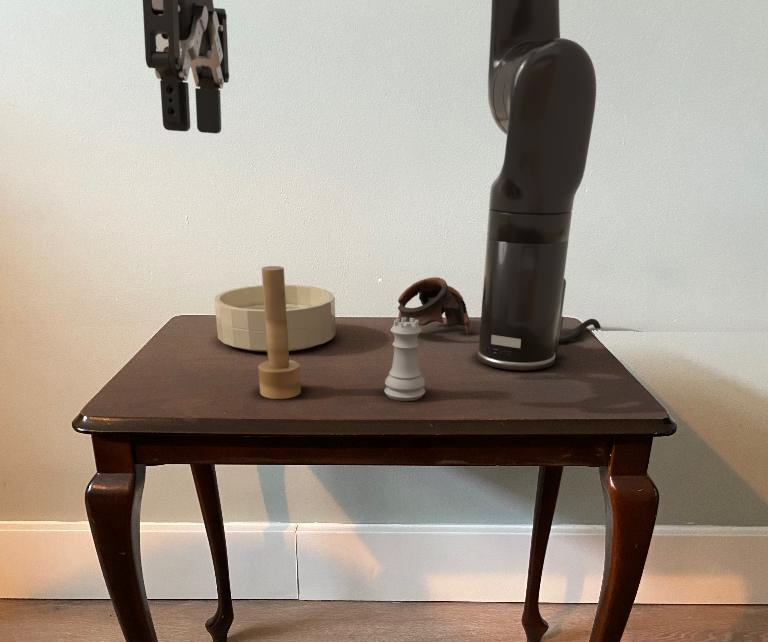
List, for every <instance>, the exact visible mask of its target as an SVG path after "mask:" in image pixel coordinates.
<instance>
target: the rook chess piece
mask: <svg viewBox="0 0 768 642" xmlns="http://www.w3.org/2000/svg"><path fill="white" fill-rule="evenodd" d="M390 332H391V333H392V335H393V336H394V339H393V340H394V341H393V343H391V345H392V346H393V357H392V365H391V368H390V370H389V371H388V375H387V376H386V378H385V380H384V384H385V388H384V390H383V391H384V393H385V395H386V396H387V397H388V398H389V399H391V400H394V401H397V402H412V401H416V400H419V399H421V398H422V397H423V396H424V395H425V393H426V389H425V388H424V386H425V384H426V381H425V380H426V379H425V378H424V377H423V376H422V372H421V370H420V367H419V360H418V347H419V346H420V344H419V342H418V337H419V336H420V334H421V333H422V332H423V329H422V328H421V327H420V326H419V321H418V320H415V318H410V322H406V318H401V322H400V319H398V317H396V318H395V319H393V325H392V327H391V328H390Z"/></svg>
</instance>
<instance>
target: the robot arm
mask: <svg viewBox="0 0 768 642" xmlns="http://www.w3.org/2000/svg"><path fill="white" fill-rule="evenodd" d="M490 5H491V9H490V35H489V53H488V54H489V55H488V57H489V58H488V73H487V100H488V101H487V102H488V106H489V110H490V114H491V117H492V119H493V121H494V123H495V125H496V126H497V127H498V128H499V130H500V131H501V132H502V133H503V134H505V135H506V141H505V142H506V143H505V148H504V149H505V151H504V157H503V158H504V159H503V163H502V167H501V169H500V171H499V174H498V175H497V177H495V179H494V180H493V181H492V183H491V186H490V189H489V190H490V191H489V201H488V214H487V215H488V216H487V228H486V229H487V230H486V241H485V242H486V244H485V257H484V273H483V283H482V300H481V312H480V313H481V315H480V325H479V326H480V327H479V328H480V329H479V342H478V348H477V355H476V356H477V357H476V358H477V359H478V361H479V362H480V363H482V364H484V365H487V366H489V367H493V368H496V369H502V370H510V371H537V370H543V369H545V368H549V367H551V366H552V365H554V364H555V361H556V358H557V357H558V351H559V345H562V344H565V343H568V342H570V341H572V340H575V339H576V338H577V337H579V334H581V332H582V331H584V330H585V329H587V328H588V327H591V326H593V328H595V329H601V328H602V326H601V323H600V322H599V320H597V319H596V318H589V319H586V320H585V321H583V322H582V323H581V324H580V325H578V326H576V327H575V328H574V329H573V330H572V332H571V333H568V334H566V335H564V336H560V335H562V331H563V323H564V316H563V310H564V304H565V303H564V302H565V295H566V286H567V280H566V278H565V272H566V265H567V257H568V249H569V240H570V239H569V238H570V231H571V223H572V216H573V209H574V201H575V196H576V194H577V192H578V190H579V188H580V185H581V184H582V181H583V180H584V175H585V172H586V171H585V170H586V165H587V160H588V153H589V148H590V141H591V135H592V128H593V123H594V117H595V110H596V101H597V77H596V70H595V66H594V63H593V60H592V58H591V57H590V55H589V52H587V50H586V49H585V48H584V47H583V46H582V45H580V44H579V43H578V42H576V41H574V40H571V39H568V38H564V37H561V30H560V29H561V26H560V25H561V24H560V23H561V22H560V21H561V19H560V0H491V4H490ZM142 12H143V13H142V14H143V34H144V35H143V37H144V54H145V55H144V56H145V57H144V58H145V64H146V66H147V68H149V69H154V73H155V76H156V78H157V79H158V80H159V85H160V87H159V88H160V99H161V101H160V102H161V116H162V118H161V119H162V126H163V128H164V129H165V130H166V131H172V132H188V131H189V130H190V129H191V112H190V111H191V109H190V92H189V91H190V88H189V82H187V81H188V79H189V75H190V69H191V73H192V76H193V82H194V85H195V87H194V88H195V90H194V91H195V111H196V113H195V115H196V128H197V130H198V132H200V133H204V134H220V133H221V131H222V111H221V110H222V104H221V103H222V102H221V90H222V89H223V88H224V85H225V84H228V83H229V80H230V72H229V71H230V69H229V46H228V24H227V23H228V21H227V19H228V17H227V12H226V9H225V8H221V7H220V8H218V7H214V0H142ZM220 89H221V90H220Z"/></svg>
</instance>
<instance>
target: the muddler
mask: <svg viewBox="0 0 768 642" xmlns="http://www.w3.org/2000/svg"><path fill="white" fill-rule="evenodd" d="M261 276H262V277H261V278H262V279H261V280H262V285H263V294H264V308H265V322H266V337H267V351H268V352H267V360H265V361H263V362H260V363H259V364H258V365H257V370H258V372H257V373H258V383H259V394H260V395H261V396H262V397H264V398H266V399H272V400H285V399H290V398H295V397H298V396H299V395H300V394H301V392H302V386H301V385H302V381H301V366H300V363H299V362H297V361H295V360H291V359H290V354H289V353H290V351H289V350H288V332H287V314H286V296H285V285H286V280H285V279H286V278H285V267H283V266H281V265H280V266H279V265H269V266H268V265H267V266H263V267H261Z"/></svg>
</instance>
